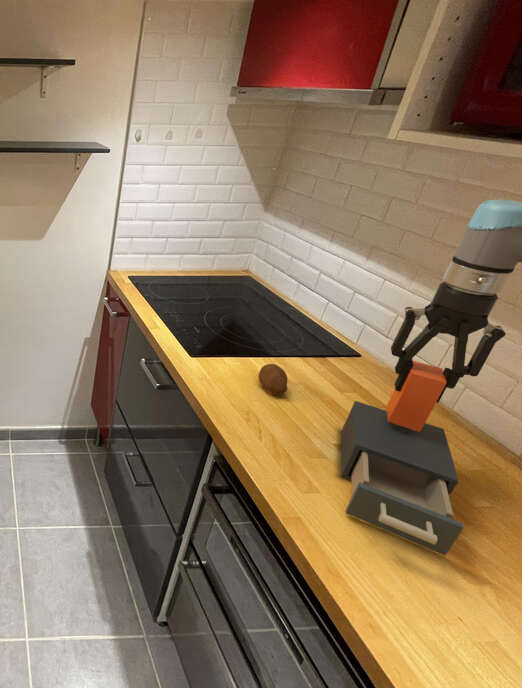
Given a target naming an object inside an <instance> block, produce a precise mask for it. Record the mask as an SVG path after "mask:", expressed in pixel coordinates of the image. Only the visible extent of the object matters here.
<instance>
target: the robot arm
mask: <svg viewBox="0 0 522 688" xmlns="http://www.w3.org/2000/svg"><path fill="white" fill-rule="evenodd" d="M518 263H522V201H518V200H510V199H489V200H484V201H483V202H481V203H480V204H479V205H478V207H477V209H476V210H475V212H474V214H473V216H472V217H471V219H470V221H469V222H468V223H467V225H466V229H465V230H464V233H463V236H462V237H461V240H460V242H459V244H458V247H457V249H456V251H455V253H454V255H453V257H452V259H451V261H450V263H449V265H448V267H447V269H446V271H445V273H444V275H443V277H442V280H443V282H441V283H439V286H438V288H437V290H436V292H435V294H434V295H433V298H432V300H431V302H430V303H429V304H428V305H426V306H425V307H424V308H414V307H412V306H405V308H404V319H403V321H402V323H401V326H400V327H399V329H398V332H397V334H396V335H395V338H394V340H393V342H392V344H391V346H390V351H391V355H392V356H394V357H397V358H398V360H397V362H396V365H395V366H394V372H395V374H396V375H397V378H396V379H395V382H394V389H395V390H396V391H401V389H402V387H403V385H404V383H405V381H406V379H407V377H408V375H409V373H410V371H411V369H412V367H413V365H414V364H413V361H414V359H413V358H414V357H415V356H416V355H417V354H419V352H421V350H422V349H423V348H424V347H426V345H427V344H428V343H429V342H430V341H432V339H433V338H435V337H437V336H438V335H439V334H442V335H443V334H445V335H449V336H452V337H454V342H453V343H454V345H453V353H452V361H451V362H452V363H451V368H450V367H445V368H444V370H443V373H444V376H445V379H446V382H447V383H446V385H445V387H444V389H443V391H442V393H441V395H440V396H439V398H438V400H437V402H436V404H439V402H440V401H441V399H442V397H443V395H444V393H445V391H446V390H447V389H450V390H453V389H455V388H456V386H457V384H458V383H459V381H460V379H461V378H464V377H465V376H470V377H478V376H479V374H480V372H481V370H482V369H483V367H484V365H485V363H486V361H487V360H488V358H489V356H490V354H491V352H492V350H493V349H494V347H495V345H496V344H497V342H499V341H500V340H501V339H503V338H504V337H506V335H507V334H506V331H505V330H504V329H503V327H502V326H501V325H495V324H493V323H491V322H489V315H490V313H492V310H493V308H494V306H495V305H496V303H497V301H498V299H499V296H498V295H497V294H499V293H502V292H503V289H504V288H505V286H506V284H507V282H508V280H509V278H510V277H511V274H512V273H514V270H515V267H516V266H517V265H518ZM422 316H425V318H426V320H427V324H426V325H425V327H424V328H423V329H422V331H420V333H418V335H417V336H416V337H415V338H414V339H413V340H412V341H411V342H410V343H409V344H408V345H407V346H406V347H405V348H404V346H405V345H406V343H407V341H408V339H409V337H410V335H411V332H412V330H413V329H414V327H415V323H416V321H419V320H420V319H421V317H422ZM482 329H483V330H482ZM480 330H482V334H483V335H482V336H481V339H480V340H479V342H478V344H477V345H476V348H475V349H474V352H473V353H472V356H471V357H470V359H469V361H468V363H467V364H465V363H466V355H467V354H466V353H467V345H468V344H469V343H468V342H469V335H470V334H472V333H475V332H478V331H480Z"/></svg>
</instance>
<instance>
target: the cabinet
mask: <svg viewBox="0 0 522 688" xmlns="http://www.w3.org/2000/svg"><path fill="white" fill-rule="evenodd" d="M340 443H341V444H340V446H341V447H340V477H341V478H343V479H345V480H348V481H350V482H352V476H351V467H352V465H353V463H354V461H355V459H356V457H357V455H358V453H359V451H360V450H363V451H366V452H368V453H371V454H374V455H377V456H379V457H382V458H385V459H388V460H390V461H393V462H396V463H399V464H402V465H404V466H407V467H410V468H413V469H415V470H418V471H421V472H424V473H426V474H429V475H432V476H435V477H437V478H440V479H443V480H445V483H446V487H447V491H448V495H449V497H450V496H451V495H452V493H453V491H454V489H455V488H456V486H457V485H458V483H459V482H460V480H459V477H458V473H457V470H456V466H455V463H454V460H453V456H452V451H451V449H450V445H449V442H448V438H447V435H446V432H445V429H444V428H442V427H439V426H436V425H432V424H429V423H427V422H425V424H424V426H423V428H422V430H421V431H420V432H418V431H415V430H412V429H409V428H406V427H403V426H400V425H397V424H394V423H391V422H388V417H387V409H384V408H383V409H382V408H380V407H376V406H373V405H369V404H366V403H363V402H360V401H358V400H357V401H356V400H354V402H353V404H352V407H351V409H350V411H349V413H348V415H347V418H346V420H345V422H344V424H343V427H342V429H341V442H340Z"/></svg>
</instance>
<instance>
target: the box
mask: <svg viewBox="0 0 522 688" xmlns="http://www.w3.org/2000/svg"><path fill="white" fill-rule="evenodd" d="M413 364H414V365H413V367H412V369H411V371H410V373H409V375H408V377H407V379H406V381H405V383H404V385H403V387H402V389H401V391H396V390H395V388H394V389H393V391H392V394H391V396H390V398H389V400H388V402H387V404H386V406H385V407H386V409H385V410H386V411H387V417H388V422H391V423H394V424H397V425H400V426H403V427H406V428H409V429H412V430H415V431H418V432H420V431H421V430H422V428H423V426H424V424H425V423H427V421H428V418H429V417H430V415H431V413H432V411H433V409H434V407H435V406H436V404H437V400H438V398H439V396H440V395H441V393H442V391H443V389H444V387H445V385H446V383H447V382H446V379H445V376H444V373H443V371H444V370H443V368H442V367H438V366H434V365H431V364H427V363H423V362H419V361H415V360H413Z"/></svg>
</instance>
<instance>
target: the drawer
mask: <svg viewBox="0 0 522 688" xmlns="http://www.w3.org/2000/svg"><path fill="white" fill-rule="evenodd" d="M351 476H352V481H351V498H350V500H349V502H348V504H347V506H346V508H345V514H347V515H349V516H352V517H354V518H356V519H358V520H361V521H363V522H365V523H368V524H370V525H373V526H375V527H377V528H379V529H382V530H384V531H386V532H389V533H391V534H394V535H396V536H398V537H400V538H402V539H405V540H407V541H409V542H411V543H414V544H417V545H418V546H421V547H424V548H426V549H428V550H430V551H432V552H436V553H438V554H440V555H442V556H444V557H445V556H446V555H447V554H448V552H449V551H450V549H451V548H452V546H453V544H454V543H455V542H456V540H457V539H458V538H459V536H460V534H461V533H462V531H463V530H464V528H465V527H464V523H463V522H461V521H459V520H456V519H454V518H453V517H454V511H453V507H452V503H451V500H450V499H451V498H450V496H449V495H448V491H447V487H446V483H445V480H443V479H440V478H437V477H435V476H432V475H429V474H426V473H424V472H421V471H418V470H415V469H413V468H410V467H407V466H404V465H402V464H399V463H396V462H393V461H390V460H388V459H385V458H382V457H379V456H377V455H374V454H371V453H368V452H366V451H363V450H360V451H359V453H358V455H357V457H356V459H355V461H354V463H353V465H352V467H351Z"/></svg>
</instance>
